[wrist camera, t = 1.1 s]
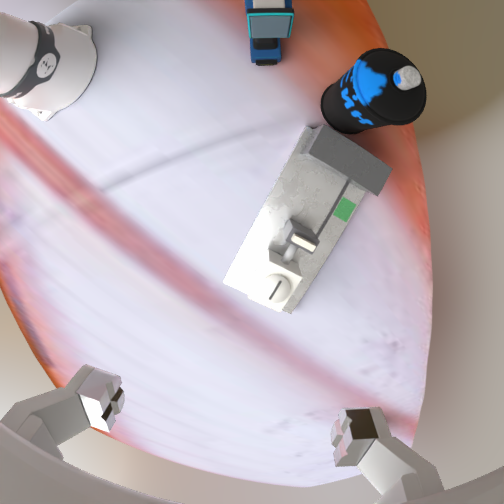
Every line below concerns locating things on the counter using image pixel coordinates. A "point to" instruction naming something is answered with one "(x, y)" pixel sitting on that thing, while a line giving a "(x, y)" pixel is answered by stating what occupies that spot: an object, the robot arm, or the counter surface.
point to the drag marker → (300, 236)
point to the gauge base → (309, 204)
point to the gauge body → (275, 279)
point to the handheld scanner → (268, 28)
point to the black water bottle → (375, 93)
